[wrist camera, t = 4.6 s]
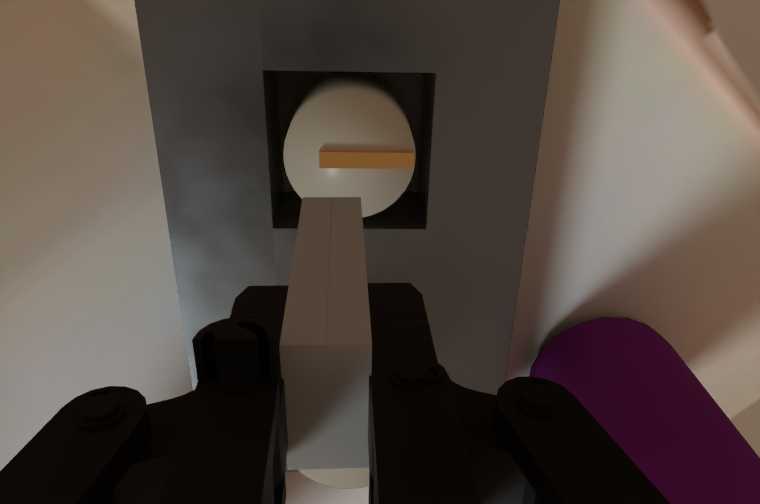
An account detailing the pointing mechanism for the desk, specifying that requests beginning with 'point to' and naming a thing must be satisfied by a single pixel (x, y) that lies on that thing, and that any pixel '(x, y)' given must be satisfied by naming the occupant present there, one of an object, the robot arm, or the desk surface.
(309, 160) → the knob
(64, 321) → the desk surface
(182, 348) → the desk surface
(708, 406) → the beverage can
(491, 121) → the mount plate
